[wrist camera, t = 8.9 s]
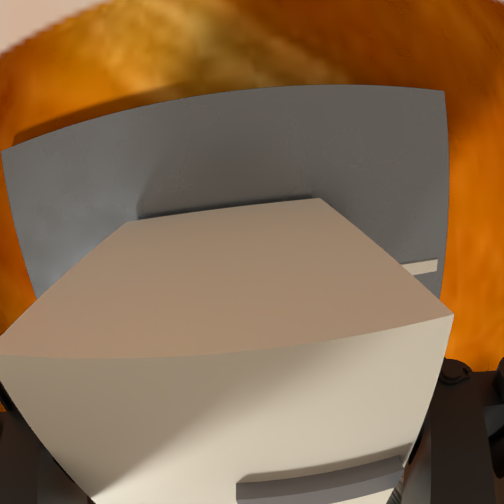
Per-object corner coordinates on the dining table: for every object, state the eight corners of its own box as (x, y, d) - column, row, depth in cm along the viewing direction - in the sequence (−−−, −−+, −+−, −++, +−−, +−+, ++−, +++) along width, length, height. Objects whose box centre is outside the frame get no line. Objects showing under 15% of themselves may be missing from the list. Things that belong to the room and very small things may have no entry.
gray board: (97, 409, 17) (71, 472, 12) (10, 149, 12) (-67, 165, 7) (415, 377, 17) (451, 438, 12) (434, 92, 12) (513, 83, 7)
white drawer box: (167, 373, 14) (128, 543, 6) (126, 222, 12) (-27, 365, 3) (323, 357, 14) (379, 529, 6) (319, 197, 12) (468, 328, 3)
